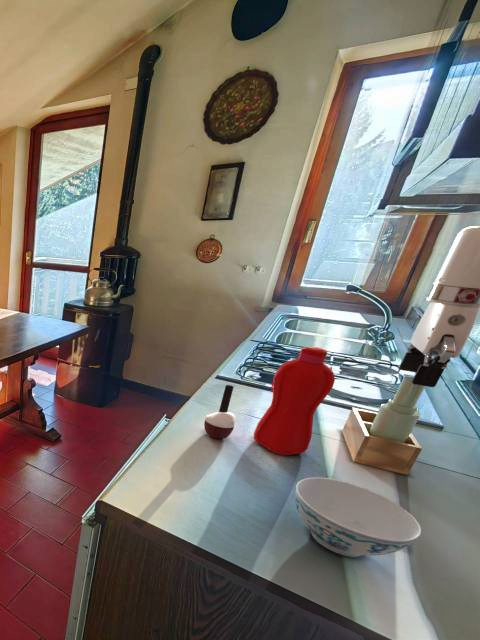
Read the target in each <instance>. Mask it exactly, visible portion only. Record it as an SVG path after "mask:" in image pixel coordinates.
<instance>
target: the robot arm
mask: <svg viewBox="0 0 480 640" xmlns="http://www.w3.org/2000/svg"><path fill="white" fill-rule="evenodd" d="M425 301H426V302H430V303H429V304H428V306H427V307H426V309H425V311H424V313H423V314H422V316H421V318H420V320H419V322H418V324H417V325H416V328H415V329H414V331H413V333H412V336H411V339H410V343H411V344H410V345H409V346H408V348H407V351H406V352H405V354H404V356H403V358H402V360H401V362H400V364H399V366H398V369H399V370H400V371H404V372H411V373H415V374H414V376H413V380H412V383H413V384H416V385H422V386H425V387H428V388H436V386H437V384H438V382H439V380H440V378H441V377H442V375H443V373H444V372H445V369H446V368H447V366H448V364H449V363H450V362H451V359H456V358H458V357H460V355H461V353H462V351H463V349H464V348H465V345H466V344H467V341H468V339H469V337H470V334H471V332H472V330H473V329H474V326H475V323H476V321H477V319H478V315H479V312H480V225H476V226H468V227H466V228H465V227H464V228H463V229H461V231H459V233H457V236H456V237H455V238H454V241H453V243H452V245H451V247H450V249H449V251H448V253H447V255H446V257H445V259H444V261H443V263H442V265H441V268H440V269H439V272H438V273H437V276H436V278H435V279H434V281H433V284H432V286H431V288H430V290H429V292H428V294H427V295H426V298H425Z"/></svg>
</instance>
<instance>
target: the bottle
mask: <svg viewBox="0 0 480 640" xmlns="http://www.w3.org/2000/svg"><path fill="white" fill-rule="evenodd" d="M413 378H414V376H404V377H403V379H402V380H401V382H400V384H399V386H398V389H397V390H396V392H395V395H394V397H393V399H389V400H388V401H387V403H381V405H380V407H379V409H378V410H377V412H376V413H377V415H376V417H375V419H374V421H373V423H372V425H371V427H370V429H369V431H368V433H369V435H370V436H374V437H379V438H383V439H388V440H392V441H397V442H401V443H406V441H407V439H408V437H409V435H410V433H412V431H413V429H414V428H415V426H416V424H417V422H418V421H419V418H421V417H420V416H421V413H420V412H419V411H418V408H419V406H418V405H417V404H418V401H419V399H420V397H421V396H422V393H423V392H424V390H425V388H426V386H422V385H416V384H413V383H412V380H413Z"/></svg>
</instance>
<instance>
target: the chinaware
mask: <svg viewBox="0 0 480 640" xmlns="http://www.w3.org/2000/svg"><path fill="white" fill-rule="evenodd" d="M294 490H295V493H294V500H295V507H296V510H297V514H298V515H299V518H300V520H301V521H302V522H303V523H304V525H305V526H306V528H307V529H308V530H309V531H310V534H311V535H312V537H313V538H314V540H315V541H316V542H317V543H318V544H319V545H321V546H323V547H324V548H325V549H327V550H329V551H331V552H334V553H336V554H339V555H342V556H345V557H351V558H352V557H353V558H355V557H361V556H369V557H371V556H374V557H375V556H385V555H389V554H394V553H397V552H399V551H402V550H403V549H405V548H408V546H410V545H411V544H413V543H414V542H415V541H417V540H418V538H419V537H420V536H421V535H422V529H421V525H420V524H419V522H418V520H416V518H415V517H414V516H413V515H412V514H411V513H409V512H408V511H407V510H406V509H405V508H404V507H402V506H401V505H399V504H397V503H396V502H394V501H393V500H390V499H389V498H388V497H385V496H384V495H381V494H379V493H378V492H375V491H372V490H370V489H368V488H366V487H363V486H360V485H357V484H354V483H350V482H347V481H343V480H338V479H334V478H328V477H308V478H307V477H306V478H303V479H301V480H299V481H298V482H297V484H296V486H295V489H294Z"/></svg>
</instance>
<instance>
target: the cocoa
mask: <svg viewBox="0 0 480 640" xmlns="http://www.w3.org/2000/svg"><path fill="white" fill-rule="evenodd" d="M234 388H235V387H234V386H233V385H229V384H226V385H225V387H224V390H223V394H222V398H221V402H220V405H219V409H218V410H219V411H216V412H213V413H210V414H207V415H206V416H205V417H204V418H205V419H204V422H203V423H204V431H205V433H206V434H207V435H208V436H209V437H211V438H213V439H218V440H221V439H226V438H228V437H229V436H230V435H231V434H232V432H233V431H234V428H235V424H236V415H234V413H232V412H228V411H229V406H230V403H231V399H232V395H233V391H234Z"/></svg>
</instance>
